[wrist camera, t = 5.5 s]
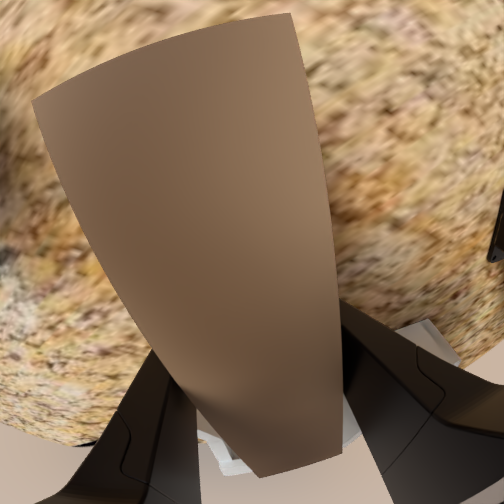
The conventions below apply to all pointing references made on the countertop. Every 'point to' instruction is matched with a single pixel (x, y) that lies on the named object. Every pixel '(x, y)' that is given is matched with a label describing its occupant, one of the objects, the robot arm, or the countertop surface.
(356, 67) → the countertop surface
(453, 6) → the countertop surface
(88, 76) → the slat
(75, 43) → the countertop surface
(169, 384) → the robot arm
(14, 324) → the countertop surface
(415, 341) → the end cap
